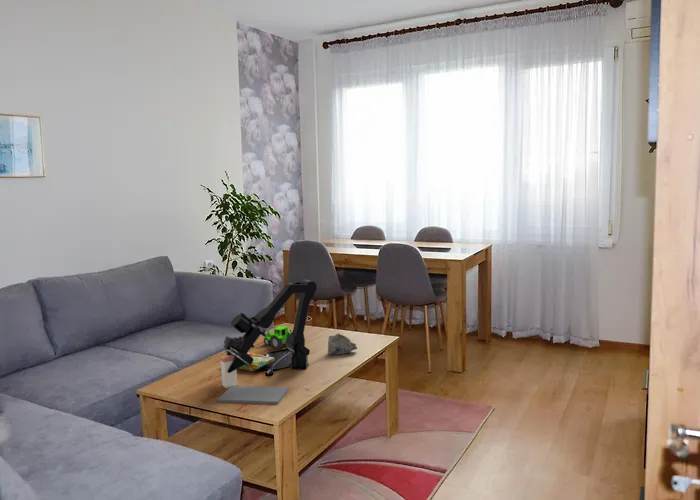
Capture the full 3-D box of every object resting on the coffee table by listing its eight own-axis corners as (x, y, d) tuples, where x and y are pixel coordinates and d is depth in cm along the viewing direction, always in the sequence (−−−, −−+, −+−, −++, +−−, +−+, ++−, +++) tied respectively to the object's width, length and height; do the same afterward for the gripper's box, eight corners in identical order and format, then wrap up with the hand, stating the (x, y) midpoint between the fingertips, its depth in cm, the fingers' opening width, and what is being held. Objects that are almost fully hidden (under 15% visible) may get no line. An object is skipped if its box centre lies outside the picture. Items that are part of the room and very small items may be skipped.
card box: (233, 382, 232) (231, 354, 230) (237, 385, 229) (235, 357, 227) (222, 385, 229) (220, 357, 228) (226, 388, 226) (223, 359, 224)
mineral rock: (358, 352, 265) (357, 331, 264) (348, 358, 256) (347, 337, 255) (334, 349, 271) (334, 329, 270) (324, 355, 262) (323, 335, 260)
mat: (288, 389, 221) (288, 387, 221) (278, 404, 208) (278, 401, 208) (231, 388, 226) (231, 385, 225) (217, 402, 212) (217, 399, 212)
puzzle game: (241, 350, 261) (274, 355, 250) (242, 359, 262) (275, 365, 251) (223, 357, 251) (257, 363, 241) (224, 367, 252) (257, 374, 241)
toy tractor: (275, 340, 290) (274, 321, 288) (297, 345, 280) (296, 326, 278) (259, 345, 281) (258, 326, 280) (281, 351, 271) (280, 331, 270)
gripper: (226, 324, 236) (203, 354, 231) (244, 333, 220) (219, 366, 216) (245, 338, 241) (222, 368, 236) (263, 348, 226) (240, 380, 221)
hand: (225, 370), depth 227 cm, fingers open, 5 cm apart
